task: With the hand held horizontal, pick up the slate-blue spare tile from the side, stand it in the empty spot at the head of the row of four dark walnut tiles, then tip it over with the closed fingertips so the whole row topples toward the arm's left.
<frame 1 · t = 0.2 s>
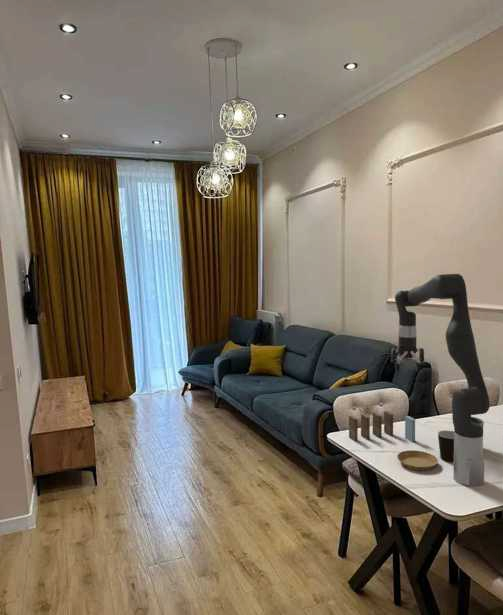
hand: (407, 371, 201), 29 cm above the table, tool pointing down, fingers open, 8 cm apart
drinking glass: (469, 448, 188), on the table
coffee mug: (452, 458, 178), on the table
plant saucer: (417, 465, 174), on the table
domino 0: (409, 439, 198), on the table
domino 4: (353, 439, 200), on the table
domino 1: (388, 433, 205), on the table
domino 2: (377, 435, 203), on the table
domino 3: (365, 437, 202), on the table
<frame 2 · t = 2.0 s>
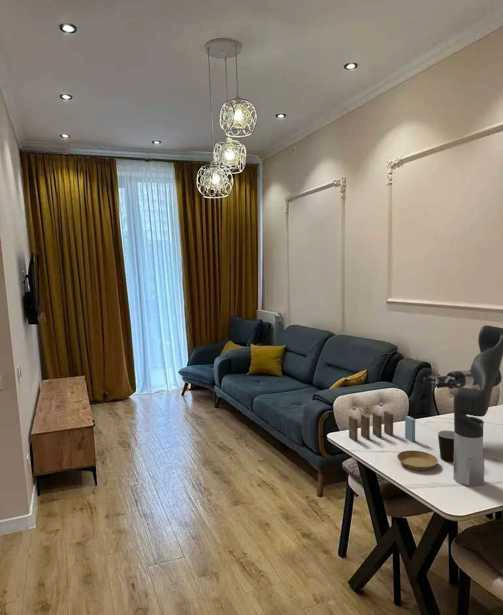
hand: (430, 383, 199), 24 cm above the table, tool horizontal, fingers open, 8 cm apart
nothing on the table moved.
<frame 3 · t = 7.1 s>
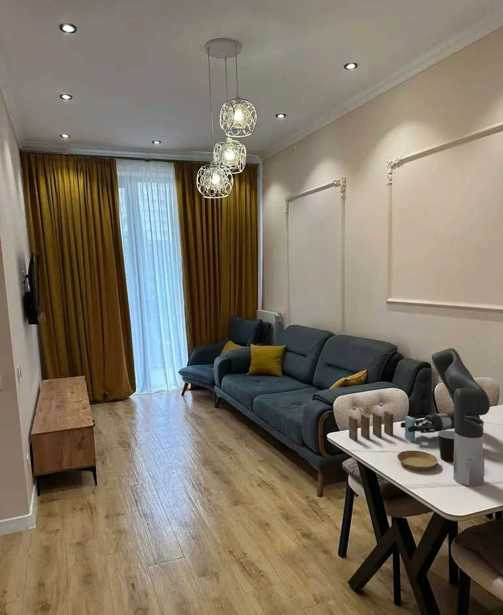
hand: (404, 427, 196), 6 cm above the table, tool horizontal, fingers closed on domino 0, 4 cm apart
domino 0: (409, 439, 198), on the table, touching gripper
everything else where it was.
when the fingers open (7 cm above the table, at t = 11.9 s): domino 0 stays where it is, on the table.
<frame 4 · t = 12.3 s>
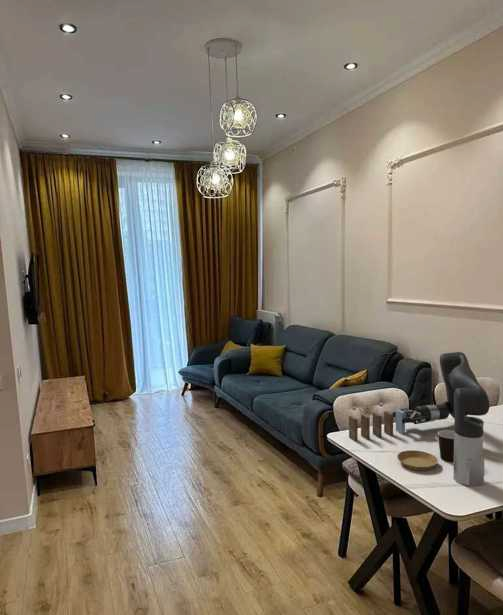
hand: (396, 417, 205), 7 cm above the table, tool horizontal, fingers open, 8 cm apart
domino 0: (400, 432, 207), on the table
everything else where it was.
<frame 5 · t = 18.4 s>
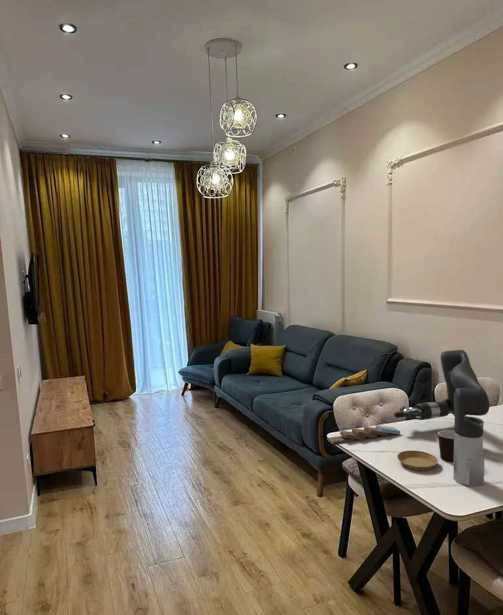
hand: (395, 415, 205), 8 cm above the table, tool horizontal, fingers closed
domino 0: (396, 431, 206), point 1 cm above the table, tilted 74°, touching domino 1
domino 4: (350, 438, 200), on the table, tilted 90°
domino 1: (385, 432, 205), point 1 cm above the table, tilted 74°, touching domino 0, domino 2
domino 2: (373, 434, 203), point 1 cm above the table, tilted 74°, touching domino 1, domino 3
domino 3: (362, 436, 201), point 1 cm above the table, tilted 77°, touching domino 2
everything else where it was.
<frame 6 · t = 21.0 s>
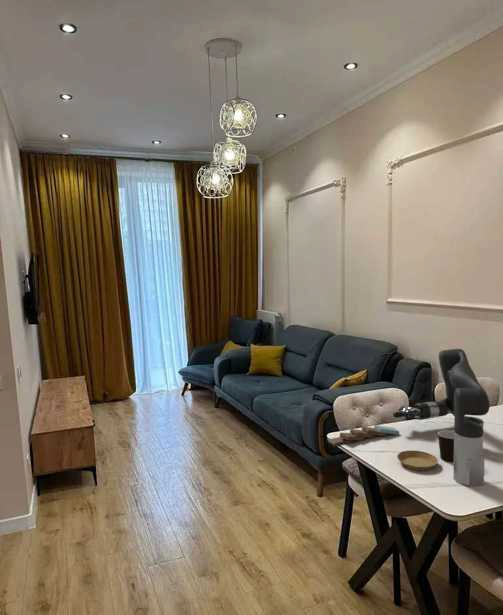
hand: (393, 414, 205), 9 cm above the table, tool horizontal, fingers closed
domino 2: (370, 434, 203), point 1 cm above the table, tilted 74°, touching domino 1, domino 3
domino 3: (360, 436, 200), point 1 cm above the table, tilted 77°, touching domino 2
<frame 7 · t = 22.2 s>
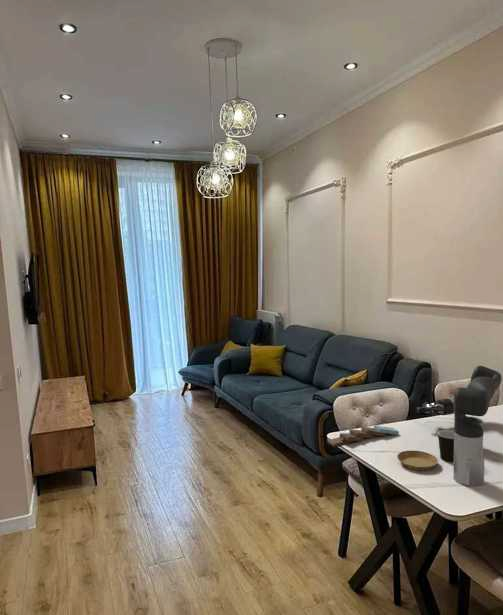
hand: (417, 410, 208), 9 cm above the table, tool horizontal, fingers closed
domino 2: (369, 434, 203), point 1 cm above the table, tilted 74°, touching domino 1, domino 3
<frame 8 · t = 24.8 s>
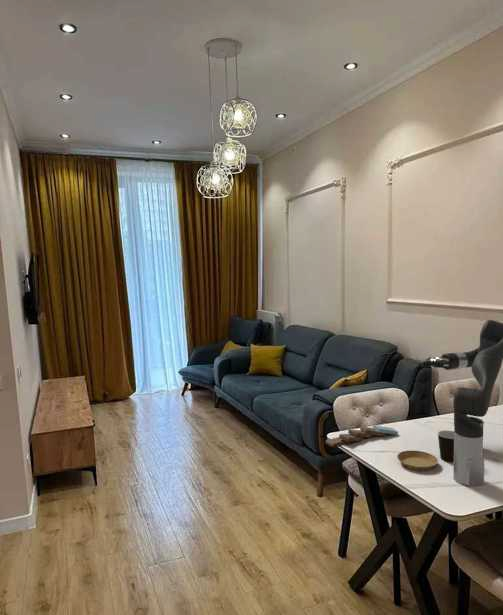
hand: (422, 364, 202), 32 cm above the table, tool horizontal, fingers closed
domino 4: (347, 439, 199), on the table, tilted 90°, touching domino 3
domino 3: (358, 437, 200), point 1 cm above the table, tilted 77°, touching domino 2, domino 4
at the end: domino 4 tilted 90°; domino 0 inside the target area (1.8 cm from its centre), point 0.7 cm above the table; the gripper is holding nothing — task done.
